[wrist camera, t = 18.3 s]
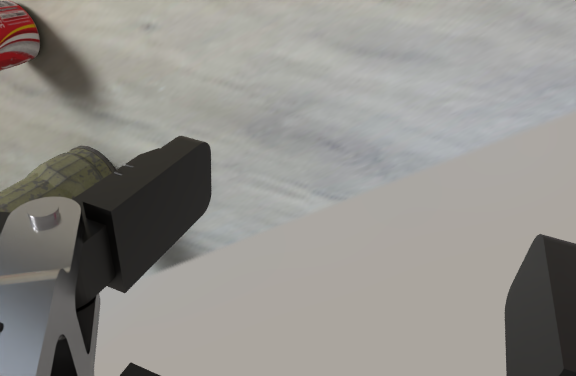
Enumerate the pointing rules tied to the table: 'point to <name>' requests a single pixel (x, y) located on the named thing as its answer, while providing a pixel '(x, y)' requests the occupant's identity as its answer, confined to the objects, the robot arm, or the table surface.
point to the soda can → (16, 36)
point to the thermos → (59, 178)
